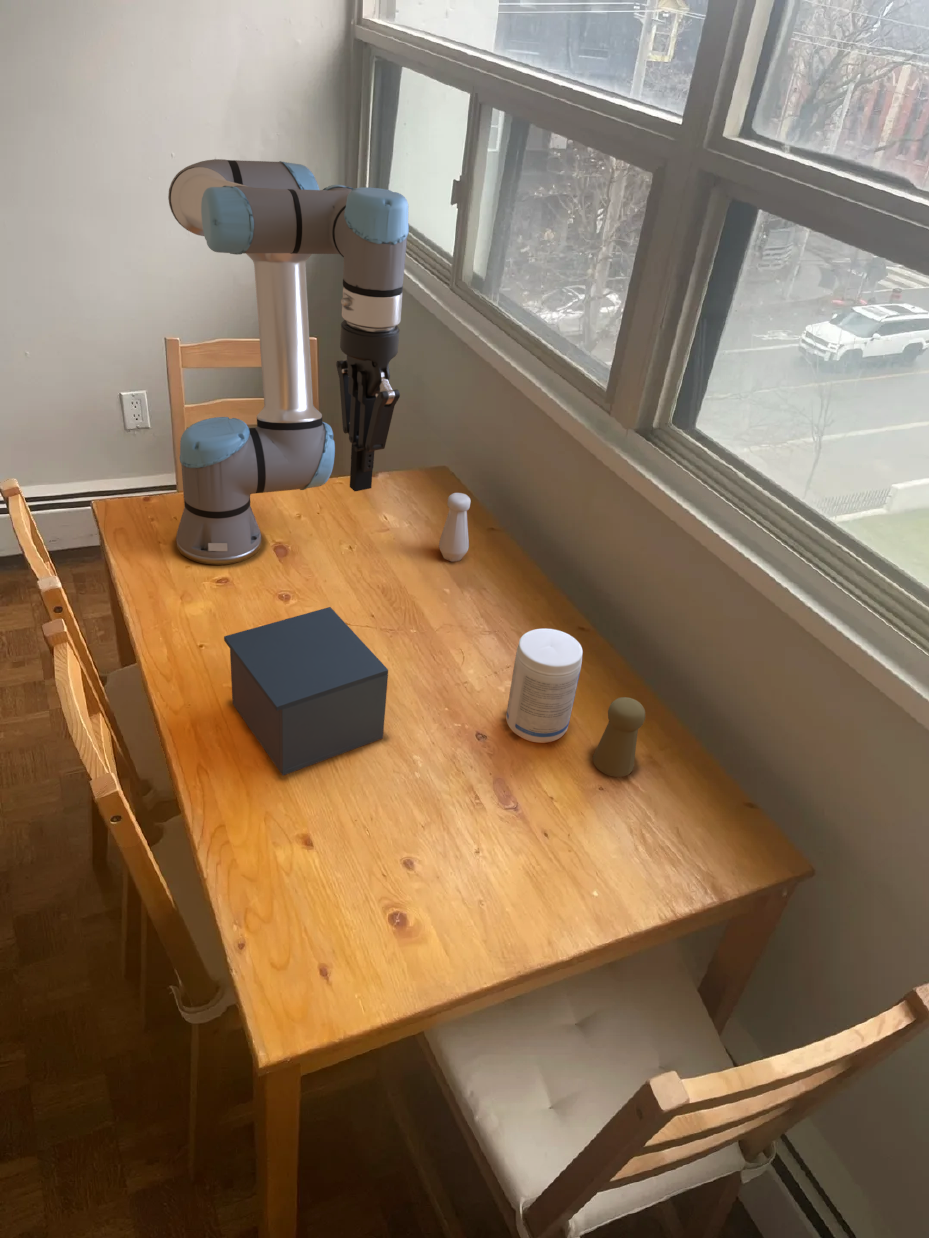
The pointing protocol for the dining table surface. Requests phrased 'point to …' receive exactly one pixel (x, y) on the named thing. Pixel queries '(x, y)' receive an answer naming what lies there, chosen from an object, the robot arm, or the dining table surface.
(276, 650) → the lid
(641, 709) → the olive brown pawn
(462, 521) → the salt shaker
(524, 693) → the supplement tub
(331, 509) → the dining table surface
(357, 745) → the box
